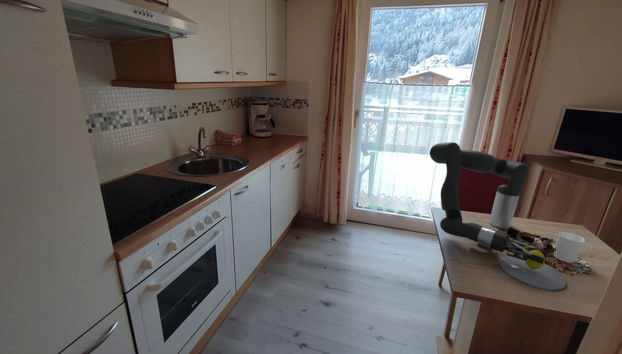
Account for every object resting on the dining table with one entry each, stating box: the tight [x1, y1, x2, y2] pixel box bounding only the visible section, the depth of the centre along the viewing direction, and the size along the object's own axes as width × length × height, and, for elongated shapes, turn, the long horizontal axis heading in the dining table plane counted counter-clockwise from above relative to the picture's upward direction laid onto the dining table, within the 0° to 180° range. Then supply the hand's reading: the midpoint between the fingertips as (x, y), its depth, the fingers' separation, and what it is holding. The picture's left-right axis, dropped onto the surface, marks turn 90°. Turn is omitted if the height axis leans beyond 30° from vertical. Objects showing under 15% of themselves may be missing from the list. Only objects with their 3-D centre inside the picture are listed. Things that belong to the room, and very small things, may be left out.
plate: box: [499, 255, 567, 291], centre depth 106 cm, size 20×20×1 cm
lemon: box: [525, 250, 546, 269], centre depth 104 cm, size 6×6×8 cm
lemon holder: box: [468, 242, 498, 260], centre depth 118 cm, size 11×8×2 cm
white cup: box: [553, 231, 586, 264], centre depth 115 cm, size 8×8×10 cm
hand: (545, 258), depth 102 cm, fingers closed on lemon, 5 cm apart
